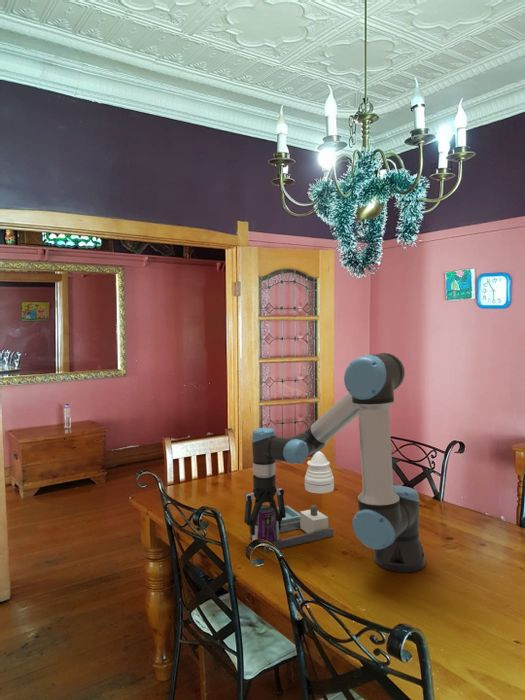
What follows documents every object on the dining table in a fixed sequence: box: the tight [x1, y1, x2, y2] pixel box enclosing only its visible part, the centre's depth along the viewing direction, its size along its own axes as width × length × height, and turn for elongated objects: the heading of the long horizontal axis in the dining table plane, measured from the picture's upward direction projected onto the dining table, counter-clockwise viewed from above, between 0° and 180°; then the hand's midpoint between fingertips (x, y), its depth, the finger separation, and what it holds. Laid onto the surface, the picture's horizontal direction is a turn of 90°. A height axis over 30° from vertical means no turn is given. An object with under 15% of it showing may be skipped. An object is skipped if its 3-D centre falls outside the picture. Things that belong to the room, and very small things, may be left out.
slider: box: [299, 504, 329, 534], centre depth 181 cm, size 9×6×9 cm, turn 25°
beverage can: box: [256, 504, 276, 542], centre depth 173 cm, size 7×7×12 cm
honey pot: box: [304, 450, 335, 494], centre depth 227 cm, size 13×13×18 cm
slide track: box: [249, 520, 334, 553], centre depth 177 cm, size 12×26×2 cm, turn 115°
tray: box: [277, 505, 300, 524], centre depth 191 cm, size 12×12×3 cm
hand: (265, 541), depth 173 cm, fingers closed on beverage can, 7 cm apart
